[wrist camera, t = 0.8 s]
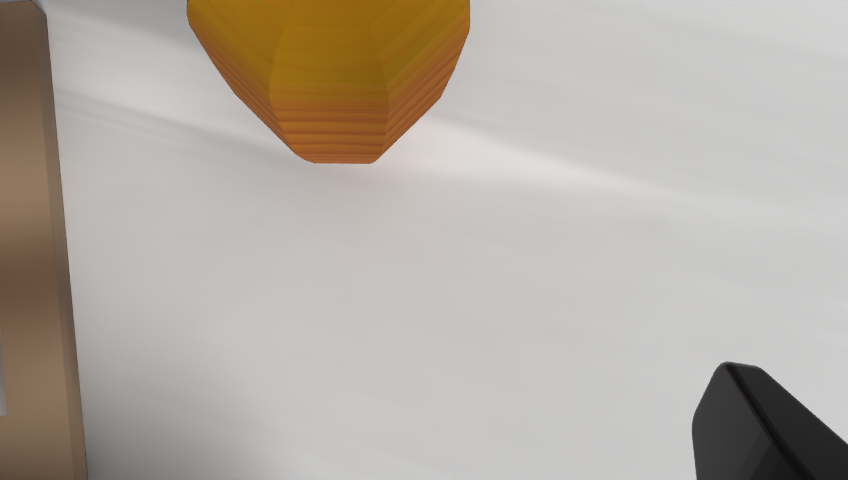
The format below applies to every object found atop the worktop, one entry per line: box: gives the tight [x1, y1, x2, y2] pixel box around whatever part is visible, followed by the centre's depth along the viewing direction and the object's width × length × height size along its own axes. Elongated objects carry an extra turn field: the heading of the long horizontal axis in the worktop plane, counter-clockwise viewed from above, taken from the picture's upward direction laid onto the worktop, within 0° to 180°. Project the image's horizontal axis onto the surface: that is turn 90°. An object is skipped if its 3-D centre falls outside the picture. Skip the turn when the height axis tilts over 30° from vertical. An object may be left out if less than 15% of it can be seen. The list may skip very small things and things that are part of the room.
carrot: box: [187, 0, 470, 164], centre depth 16 cm, size 5×5×15 cm
